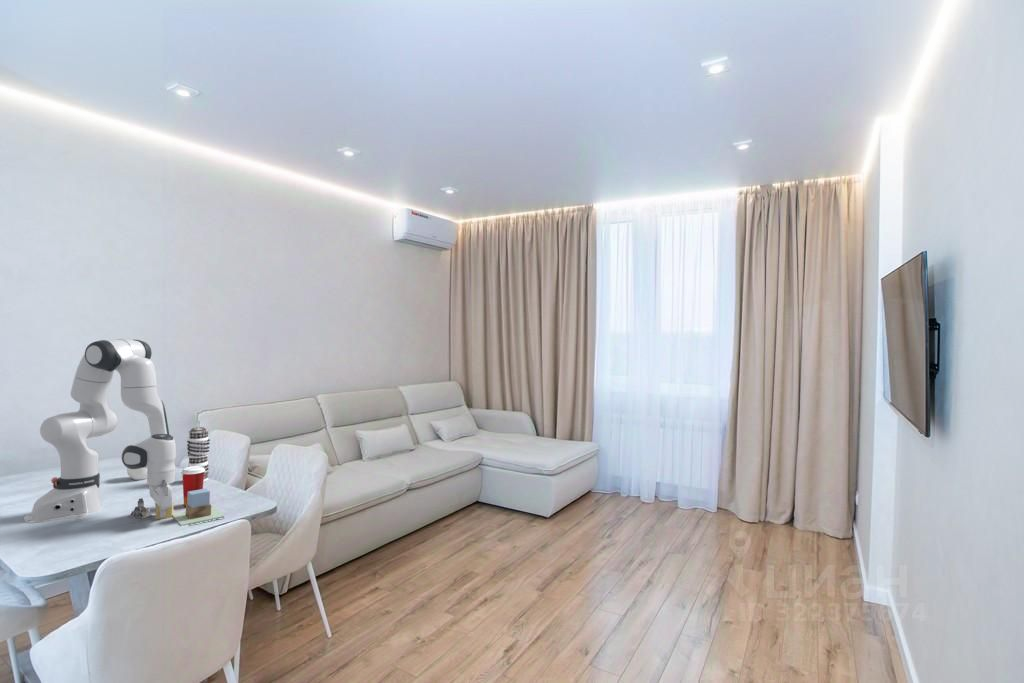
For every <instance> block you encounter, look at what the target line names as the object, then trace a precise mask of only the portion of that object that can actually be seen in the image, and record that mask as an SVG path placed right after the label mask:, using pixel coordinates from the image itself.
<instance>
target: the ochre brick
mask: <svg viewBox="0 0 1024 683" xmlns="http://www.w3.org/2000/svg"><path fill="white" fill-rule="evenodd" d="M159 512H160V508H159V506H158V505H157V506H155V520H160V519H161V520H163V519H168V518H169V519H170V518H173V516H172V514H174V502H173V501H172V507H171V508H167V509H166V516H165V517H160V516H159Z"/></svg>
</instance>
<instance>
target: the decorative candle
mask: <svg viewBox="0 0 1024 683" xmlns="http://www.w3.org/2000/svg"><path fill="white" fill-rule="evenodd" d="M188 433H189V437H188V440H187V441H186V443H187V444H186V445H187V458H188V466H187V467H192V466H202V467H204V469H205V471H204V481H203V483H204V482H206V481H208V480H209V461H208V456H209V452H210V450H209V449H210V446H209V445H210V444H211V443H210V441H211V440H210V439H209V430H208V429H207V427H204V426H198V427H192V428H191V429H190V430H189V431H188Z"/></svg>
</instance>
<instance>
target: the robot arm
mask: <svg viewBox="0 0 1024 683" xmlns="http://www.w3.org/2000/svg"><path fill="white" fill-rule="evenodd" d="M84 351H85V352H84V354H83V356H82V357H81V359H80V360H79V363H78V366H77V368H76V370H75V371H76V372H75V375H74V378H73V382H72V386H71V390H70V396H71V398H72V399H73V400H74V401H75V402H76V403H79V410H78V411H72V412H63V413H59V414H56V415H53V416H50V417H48V418H45V419H44V420H43V422H42V423H41V425H40V427H39V434H40V437H41V438H42V439H43V440H44V441H45V442H47V443H48V444H50V445H52V446H53V447H54V448H55V450H56V451H57V453H58V456H59V461H60V477H52V478H51V480H50V481H51V483H52V484H53V485H52V486H53V487H52V489H50V490H49V491H48V492H46V493H44V495H42V496H40V497H39V498H38V499H37V500H36V501H35V502H34V503H33V506H32V509H31V512H29V513H27V514H25V515H24V517H23V522H25V523H27V524H35V523H36V524H37V523H44V522H51V521H53V522H54V521H60V520H69V519H75V518H76V519H77V518H82V517H83V518H84V517H86V516H88V515H90V514H93V513H96V512H98V511H101V510H102V509H103V507H104V506H103V504H102V502H101V496H100V489H99V488H100V485H101V476H100V472H99V461H100V460H99V457H100V456H99V454H98V452H97V451H95V450H94V449H92V448H89V447H88V444H87V442H86V440H87V439H91V438H97V437H101V436H104V435H107V434H109V433H111V432H112V431H114V430H115V429H116V427H117V425H118V417H117V415H116V413H115V412H114V411H113V410H111V408H110V406H109V402H108V398H109V392H110V387H111V384H112V380H113V375H114V372H115V371H116V372H118V374H119V375H120V398H121V401H122V403H123V404H124V406H126V407H127V408H129V409H130V410H133V411H136V412H140V413H142V414H144V415H145V416H146V418H147V420H148V426H149V432H150V436H149V437H148V438H147V439H144V440H142V441H139V442H135V443H132V444H130V445H127V446H126V447H125V448H124V449H123V451H122V453H121V461H122V464H123V465H124V467H126V469H127V468H129V469H140V468H147V479H146V484H147V485H148V486H149V487H148V488H149V489H148V490H149V495H150V498H151V499H152V500H153V501H154V505H155V507H156V506H157V505H158V506H159V508H160V512H159V516H160V517H165V516H166V509H167V508H171V507H172V503H173V488H172V483H174V482H176V469H177V467H176V459H177V444H176V439H175V437H174V436H173V435H171V434H170V431H169V424H168V419H167V418H168V417H167V412H166V408H165V404H164V402H163V400H162V399H161V398H160V396H159V392H158V381H157V380H158V379H157V373H156V368H155V363H154V362H153V361H152V360H151V357H152V348H151V346H150V345H149V344H148V343H147V342H146V341H143V340H141V339H129V338H128V339H127V338H126V339H125V338H124V339H123V338H120V339H119V338H117V339H108V340H106V339H100V340H97V341H93V342H91V343H89V344H88V345H87V346H86V348H85V350H84Z"/></svg>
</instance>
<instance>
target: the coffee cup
mask: <svg viewBox="0 0 1024 683" xmlns="http://www.w3.org/2000/svg"><path fill="white" fill-rule="evenodd" d="M204 471H205V469H204V467H202V466H192V467H188V466H187V467H184V468H183V469H182V470H181V472H180V474H182V492H183V506H184V507H185V506H186V505H187V495H188V492H189V491H195V490H200V489H204V482H205V481H204ZM203 481H204V482H203Z"/></svg>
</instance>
